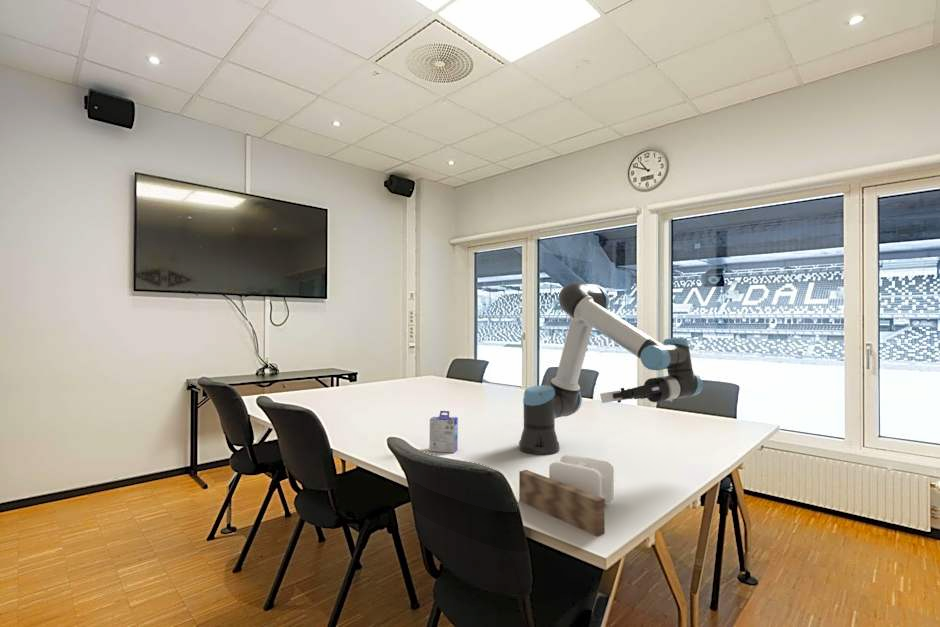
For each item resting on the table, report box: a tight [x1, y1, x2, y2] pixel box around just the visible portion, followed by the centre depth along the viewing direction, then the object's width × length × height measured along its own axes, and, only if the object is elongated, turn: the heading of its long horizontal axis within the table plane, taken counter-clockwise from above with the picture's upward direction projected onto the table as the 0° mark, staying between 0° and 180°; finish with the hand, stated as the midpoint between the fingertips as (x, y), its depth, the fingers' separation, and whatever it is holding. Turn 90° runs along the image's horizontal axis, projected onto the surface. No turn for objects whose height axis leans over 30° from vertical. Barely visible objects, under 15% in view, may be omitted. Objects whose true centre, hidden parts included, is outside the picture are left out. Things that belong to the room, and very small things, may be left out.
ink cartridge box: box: [428, 410, 459, 454], centre depth 178 cm, size 10×6×14 cm, turn 78°
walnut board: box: [518, 469, 606, 537], centre depth 119 cm, size 26×2×8 cm, turn 37°
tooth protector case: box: [548, 454, 615, 505], centre depth 127 cm, size 15×11×12 cm
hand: (602, 398), depth 140 cm, fingers closed
